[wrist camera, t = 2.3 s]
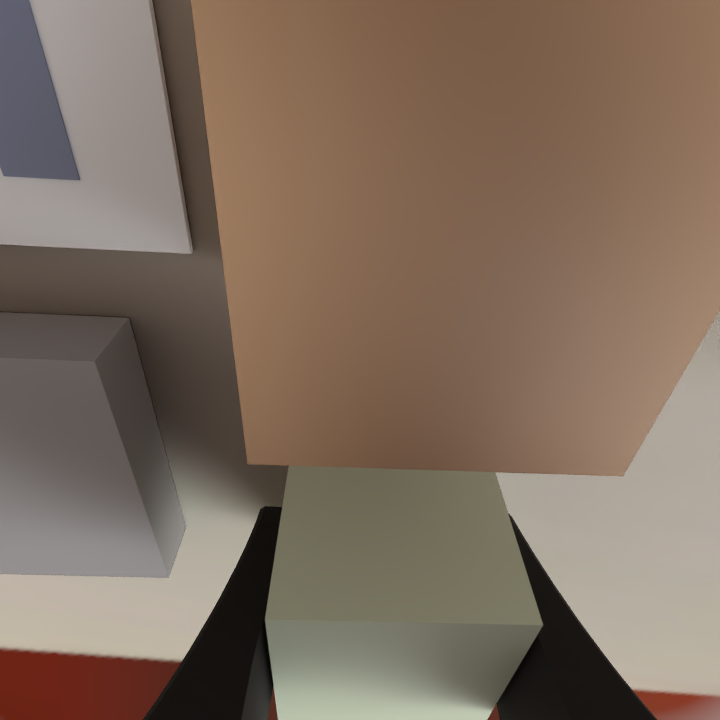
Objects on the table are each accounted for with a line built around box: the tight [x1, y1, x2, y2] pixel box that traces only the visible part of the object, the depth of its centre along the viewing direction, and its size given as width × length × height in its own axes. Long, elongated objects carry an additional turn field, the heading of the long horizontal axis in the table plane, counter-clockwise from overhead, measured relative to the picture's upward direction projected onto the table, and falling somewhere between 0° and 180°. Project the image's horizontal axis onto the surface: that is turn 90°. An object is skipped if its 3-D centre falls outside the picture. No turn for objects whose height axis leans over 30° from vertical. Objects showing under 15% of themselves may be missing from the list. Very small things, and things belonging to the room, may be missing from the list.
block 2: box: [265, 466, 543, 720], centre depth 11 cm, size 4×4×4 cm
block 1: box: [191, 0, 720, 476], centre depth 6 cm, size 4×4×4 cm
